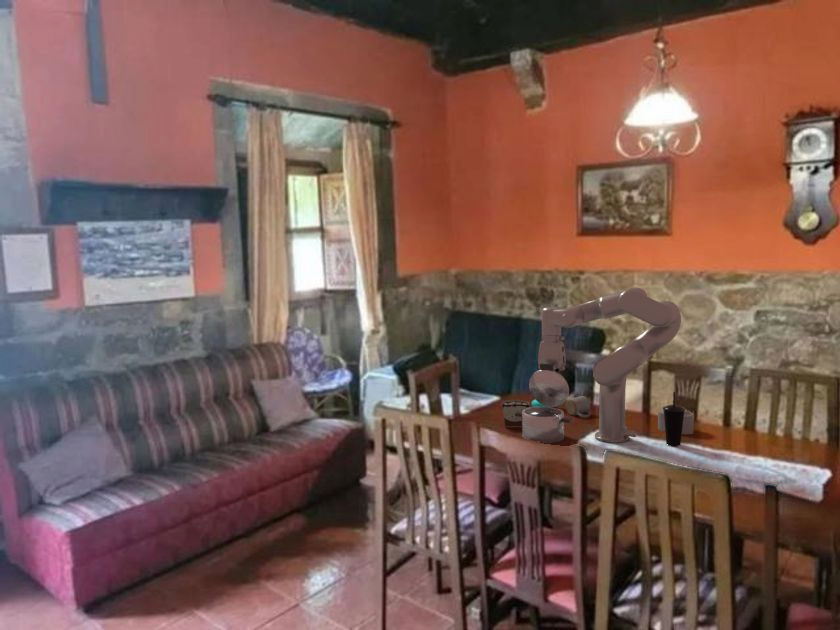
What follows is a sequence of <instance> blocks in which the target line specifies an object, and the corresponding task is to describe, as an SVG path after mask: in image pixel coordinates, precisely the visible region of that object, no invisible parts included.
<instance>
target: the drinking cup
mask: <svg viewBox="0 0 840 630" xmlns="http://www.w3.org/2000/svg"><path fill="white" fill-rule="evenodd" d="M672 394H673V395H672V398H673V399H672V404H669V405H665V406H663V407H662V409H663V410H664V420H665V431H664V432H665V444H666V445H667V444H668V445H667V446H669V445H671V446H670V447H680V446H681V443H682V442H681V441H682V435H683V434H682V427H683V419H684V411H685V409H686V408H685V407H684V408H683V406H680V405H678V404H676V390H673V393H672Z"/></svg>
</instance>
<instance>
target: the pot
mask: <svg viewBox="0 0 840 630" xmlns="http://www.w3.org/2000/svg"><path fill="white" fill-rule="evenodd" d="M515 416H517V417H522V427H521V429H522V431H521V432H522V433H521V434H522V435H521V437H523V438H524V440H525V439H527V440H533V441H540V442H543V443H542V444H555V443H559V442H562V441H563V440H564V439H565V424H566V423H567V424H570V423H571V422H572V421H573V418H572V417H570V416H569V417H568V416H565V412H564V410H563V409H560V408H558V407H557V408H556V407H533V406H531V408H530V407H529V408H526V409H524V410H523V411H522V412H516V413H515ZM523 438H522V439H523ZM527 440H526V441H527Z"/></svg>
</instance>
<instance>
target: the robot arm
mask: <svg viewBox="0 0 840 630" xmlns="http://www.w3.org/2000/svg"><path fill="white" fill-rule="evenodd" d="M625 314H629V315H631V316H632V317H634V318H637V319H638V320H641V321H643V322H645V323H646V324H649V325H651V326H650V327H648V328H647V329H646V330H644V332H642V333H640V335H638V336H637V337H635V338H633V339H632V340H629V341H628V342H625V343H624V344H623V345H621V346H619V347H618V348H617V349H616V350H614V351H613V352H611V353H610V354H608V355H607V356H606V357H604V358H603V359H602V360H601V361H600V360H599V362H598V363H596V365H595V366H594V367H593V371H592V375H593V377H592V378H593V380H594V381H595V382H596V383H597V384H598V385H599V390H598V391H599V395H598V396H599V397H598V398H599V399H598V403H599V404H598V406H599V407H598V414H599V415H598V418H599V419H598V431H597V432H595V433H594V438H595V439H596V440H597V441H598V440H599V441H601V442H606V443H613V444H614V443H616V444H617V443H624V442H628V441H629V439H630V437H631V438H637V434H638V433H637V432H636V431H635V430H633V429H632V430H631V429H630V430H629V429H628V425H626V389H627V388H626V387H627V386H626V385H627V378H628V375H629V374H631V373H632V372H634V371H635V370H637V369H638V368H639V367H641V366H642V365H643V364H644V363H645V362H646V361H647V360H648V359H650V357H652V356H653V355H655V354H656V353H658V352H659V351H661V349H663V348H664V347H666V345H669V344H670V342H671V341H673V339H674V338H675V337H676V336H677V334H678V332H679V330H680V327H681V324H682V316H681V311H680V308H679V306H678V305H677V304H676V303H675V302H673V301H668V300H664V301H663V300H662V301H658V300H655V299H653V298H651V297H649V296H648V294H647V292H646V291H645V290H644V289H643V288H641V287H637V286H635V287H631V288H626V289H624V290H621V291H617V292H614V293H610V294H606V295H603V296H600V297H598V298H596V299H594V300H591V301H587V302H584V303H581V304H577V305H574V306H569V307H567V308H562V309H561V308H559V307H555V306H553V307H552V306H550V307H544V308H542V311H541V341H540V342H539V347H538V354H537V357H538V358H537V363H538V366H537V367H538V369H539V370H540V364H541V363H543V364H553V369H554V371H556V372H558V373H559V372H562V371H565V369H566V367H565V366H566V363H567V361H566V350H565V344H564V340H565V336H562V335H563V334H562V328H563V329H564V328H566V329H572V328H574V327H576V326H579V325H581V324H584V323H589V322H592V321H596V320H600V319H604V320H607V319H611V318H615V317H619V316H623V315H625Z"/></svg>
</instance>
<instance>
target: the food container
mask: <svg viewBox="0 0 840 630" xmlns="http://www.w3.org/2000/svg"><path fill="white" fill-rule="evenodd" d="M531 407H532V405H531V404H530V402H529V401H526V400H522V399H509V400H504V401H502V402H501V405H500V408H501V409H502V417H503V424H504V428H522V417H517V416H515V413H516V412H522V411H523V410H524V409H526V408H531Z"/></svg>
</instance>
